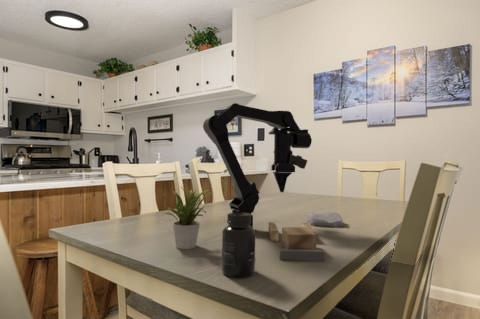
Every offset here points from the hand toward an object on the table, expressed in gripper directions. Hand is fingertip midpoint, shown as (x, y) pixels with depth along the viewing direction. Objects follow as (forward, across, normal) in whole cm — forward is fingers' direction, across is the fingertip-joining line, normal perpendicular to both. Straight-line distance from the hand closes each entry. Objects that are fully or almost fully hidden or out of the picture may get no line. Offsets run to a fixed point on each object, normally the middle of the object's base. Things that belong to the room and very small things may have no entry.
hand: (281, 192), depth 106 cm
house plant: (+12, -26, +27) cm, 39 cm away
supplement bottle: (+12, -44, +14) cm, 48 cm away
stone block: (+12, +5, -16) cm, 21 cm away
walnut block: (+12, -27, -1) cm, 30 cm away
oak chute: (+12, -14, -1) cm, 18 cm away
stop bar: (+12, -35, 0) cm, 37 cm away
